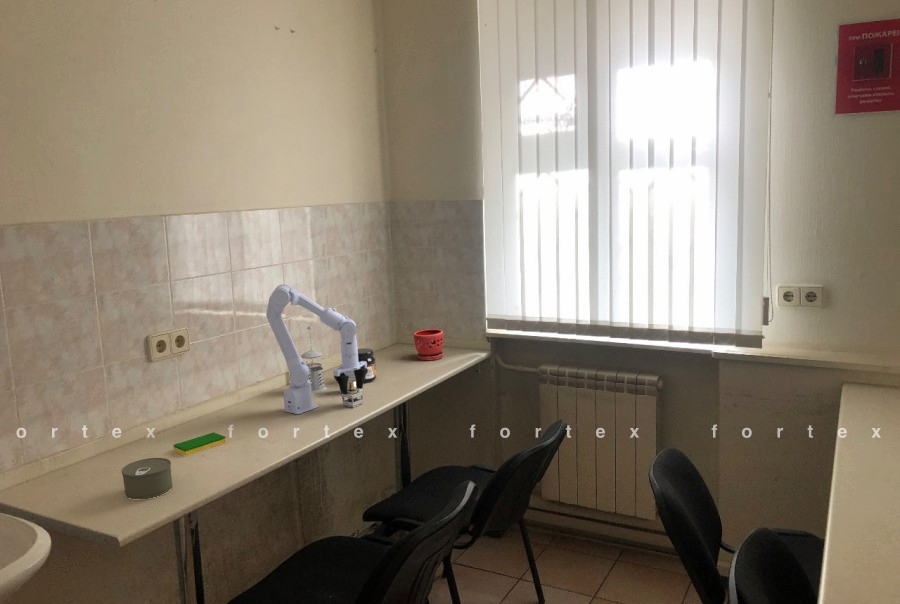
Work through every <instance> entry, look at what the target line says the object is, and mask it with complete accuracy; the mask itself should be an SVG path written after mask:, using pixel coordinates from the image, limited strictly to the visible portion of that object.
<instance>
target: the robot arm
mask: <svg viewBox="0 0 900 604" xmlns="http://www.w3.org/2000/svg"><path fill="white" fill-rule="evenodd" d="M289 303H290V304H289ZM288 304H289V305H290V306H301V307H302V308H304V309H306V310H307V311H310V312H311V313H312V314H315V315H316V316H318V317H319V321H320V322H321V323H323V324H324V325H326V326H328V327H330V328H331V329H333V330H334V331H339V335H340V352H341V353H340V354H341V366H340V367H338V368H335V369H334V370H333V378H334V379H335V381H336V382H337V384H338V388H339V387H340V390H341V393H340V394H341V395H342V394H345V395H346V394H347V384H348V378H349V376H346V375H345V373H348V372H351V371H354V374H355V378H356V386H357V388H358V389H362V390H363V386H364V383H363V382H364V378H365V376H366V373H367V372H368V369H367V368H365V367H367V362H365V361H361V362H358V349H359V347H358V339H357V337H358V336H357V332H358V329H357V324H356V322H355V321H354V320H353V319H352V318H350V317H348V316H347V315H343V314H341V313H340V312H338V311H337V309H336V308H334V307H333V308H332V307H324V306H321V305H320V304H318V303H317V302H315V301H314V300H312V299H311V298H310V297H308V296H307V295H305V294H304V293H302V292H300V291H299V290H297V289H295V288H293V287H292V288H291V287H290V285H287V284H279V285H277V286H276V287H275V288H274V290H273V291H272V293H271V294H270V296H269V298H268V304H267V309H266V313H265V314H266V315H265V316H266V318H267V321H268V323H269V325H270V327H271V330H272V333H273V335H274V337H275V340H276V342H277V343H278V346H279V348H280V351H281V352H282V355H283V357H284V359H285V362H286V365H287V369H288V371H289V372H288V373H289V380H290V383H289V386H288V387H287V388H285V389H284V391H283V406H284V409H283V412H286V413H291V414H295V415H300V414H304V413H306V412H309V411H311V410H314V409H317V408H319V406H318V405H316V404H313V393H312V390H311V383H312V382H311V380H310V381H309V379H308V376H309V374H311V372H310V370H309V367H308V366H307V365H306V364H307V363H306V362H304V361H303V358H302V357H301V355H300V354H299V351H298V349H297V347H296V344H295V343H294V340H293V338H292V336H291V333H290V331H289V329H288V327H287V325H286V321H285V319H284V317H283V312H284V310H285V307H286V306H287V305H288ZM309 377H310V376H309Z"/></svg>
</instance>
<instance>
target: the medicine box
mask: <svg viewBox="0 0 900 604" xmlns="http://www.w3.org/2000/svg"><path fill="white" fill-rule="evenodd" d="M345 375H346V376H349V378H348V381H351V380H354V381H356V378H355V374H354V371H351V372H348V373H345ZM356 387H357V386H356ZM338 389H339V394H342V393H341V390H340V387H339V386H338ZM362 390H363V388H362V389H358V388H357V391H361V392H362ZM347 391H348V384H347Z"/></svg>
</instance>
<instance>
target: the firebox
mask: <svg viewBox="0 0 900 604" xmlns="http://www.w3.org/2000/svg"><path fill="white" fill-rule="evenodd" d="M341 395H342V406H343V405H345V406H344V407H347V406H350V407H349V408H352V407H354V406H356V407H358V406H357V405H359V406H361V405H360V404H362V403H363V404H364V402H363V401H364V398H363V397H364V396H363V391H362V390H361V391H357V393H356V394H354V395H350V394H348V391H347V394H346V395H345V394H342V393H341ZM356 397H357V401H356V402H354V401H353V398H356ZM358 397H360V398H358ZM345 398H347V399H345ZM348 398H352V402H349V399H348ZM363 404H362V405H363ZM354 408H355V407H354Z"/></svg>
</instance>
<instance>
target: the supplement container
mask: <svg viewBox="0 0 900 604" xmlns="http://www.w3.org/2000/svg"><path fill="white" fill-rule="evenodd" d="M374 355H375V351H374V349H372V348H369V347H368V348H365V347H364V348H362V347H361V348H358V362H361V361H365V362H367V367H365V368H367V369H368V372H367V373H366V376H365V378H364V382H363V384H368V383H371V382H374V381H376V379H377V367H376V357H375V356H374ZM367 382H368V383H367Z"/></svg>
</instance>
